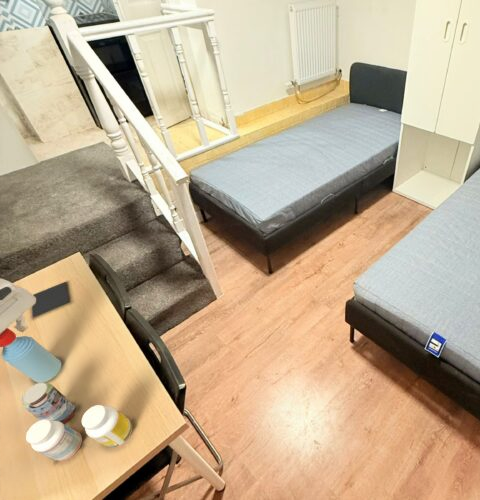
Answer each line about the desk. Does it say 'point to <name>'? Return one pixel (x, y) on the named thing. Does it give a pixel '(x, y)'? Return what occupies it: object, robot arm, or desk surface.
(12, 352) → the water bottle
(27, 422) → the desk surface
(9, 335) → the cap
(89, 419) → the pill bottle
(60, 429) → the pill bottle
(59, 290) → the coaster
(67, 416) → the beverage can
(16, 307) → the robot arm
